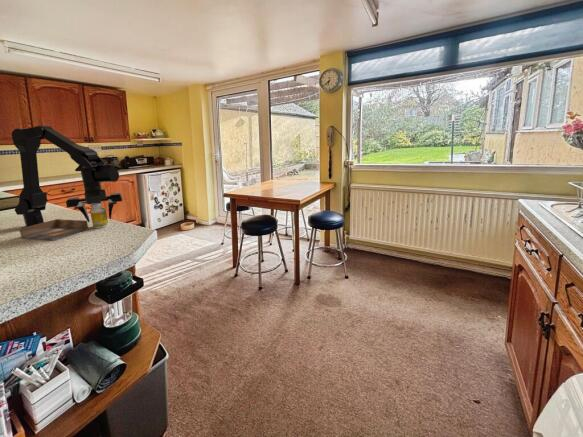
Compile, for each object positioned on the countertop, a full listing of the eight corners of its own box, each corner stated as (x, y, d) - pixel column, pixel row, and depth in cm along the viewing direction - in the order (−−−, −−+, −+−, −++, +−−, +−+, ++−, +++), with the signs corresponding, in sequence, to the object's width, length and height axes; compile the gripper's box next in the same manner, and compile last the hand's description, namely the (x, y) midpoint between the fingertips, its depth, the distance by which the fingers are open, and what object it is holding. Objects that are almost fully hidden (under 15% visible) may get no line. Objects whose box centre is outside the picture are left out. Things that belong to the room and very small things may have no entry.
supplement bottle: (96, 225, 127) (91, 202, 125) (110, 224, 128) (106, 201, 126) (91, 229, 122) (86, 205, 120) (105, 227, 123) (101, 204, 121)
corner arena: (21, 238, 114) (19, 229, 113) (58, 227, 127) (56, 219, 126) (53, 240, 109) (50, 231, 108) (88, 229, 122) (86, 220, 121)
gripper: (59, 187, 109) (69, 229, 114) (118, 182, 118) (125, 221, 122) (64, 183, 119) (73, 222, 123) (118, 179, 127) (125, 215, 131)
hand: (99, 220), depth 125 cm, fingers open, 7 cm apart
